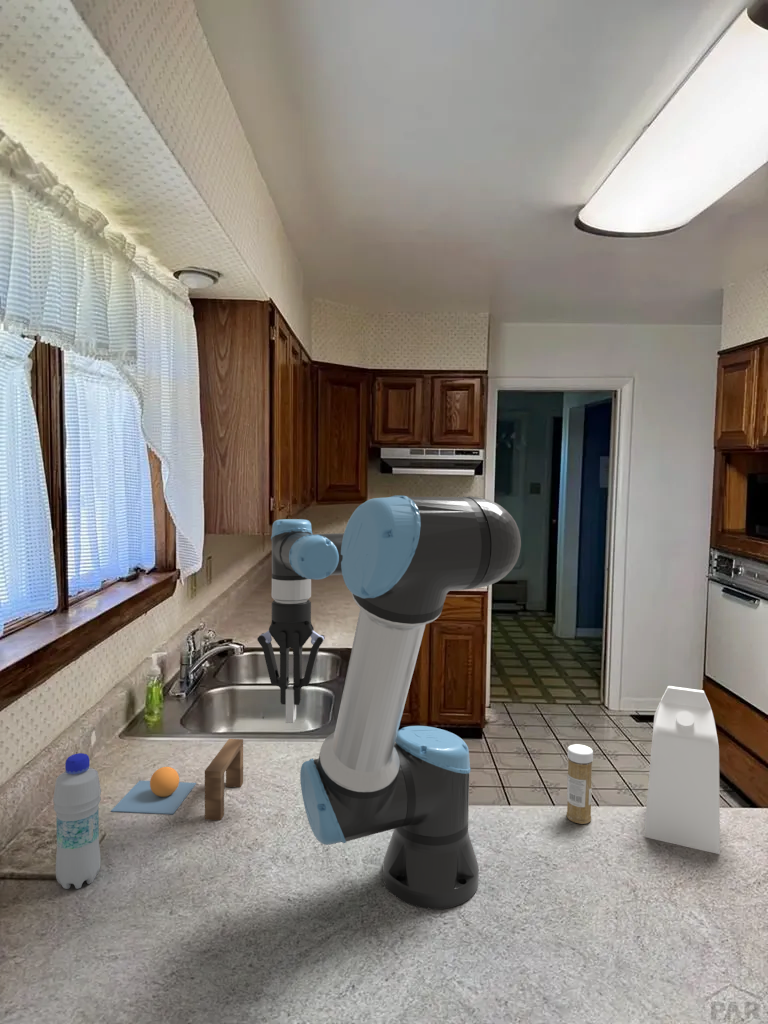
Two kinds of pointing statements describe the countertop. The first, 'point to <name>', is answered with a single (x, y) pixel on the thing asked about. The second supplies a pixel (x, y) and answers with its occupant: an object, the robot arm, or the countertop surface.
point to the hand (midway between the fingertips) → (290, 720)
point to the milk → (684, 772)
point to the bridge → (214, 777)
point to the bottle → (77, 822)
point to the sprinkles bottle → (579, 783)
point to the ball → (164, 781)
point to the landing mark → (152, 799)
